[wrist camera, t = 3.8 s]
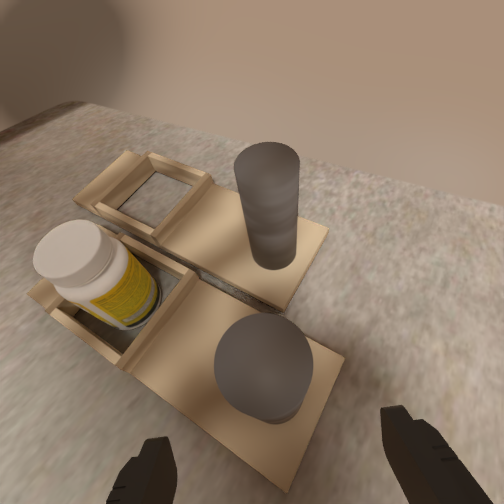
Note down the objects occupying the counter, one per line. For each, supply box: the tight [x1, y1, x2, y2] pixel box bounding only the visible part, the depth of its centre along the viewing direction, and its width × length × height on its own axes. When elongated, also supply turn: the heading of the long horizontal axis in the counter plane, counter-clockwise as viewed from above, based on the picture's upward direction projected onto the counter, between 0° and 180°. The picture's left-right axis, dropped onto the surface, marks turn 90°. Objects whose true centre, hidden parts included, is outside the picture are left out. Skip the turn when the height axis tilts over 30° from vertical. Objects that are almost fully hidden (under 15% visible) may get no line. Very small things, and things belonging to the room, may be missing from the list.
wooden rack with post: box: [27, 224, 345, 493], centre depth 18 cm, size 24×8×10 cm, turn 59°
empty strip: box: [72, 142, 329, 313], centre depth 23 cm, size 24×8×10 cm, turn 59°
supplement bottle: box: [33, 220, 161, 330], centre depth 20 cm, size 5×5×8 cm
